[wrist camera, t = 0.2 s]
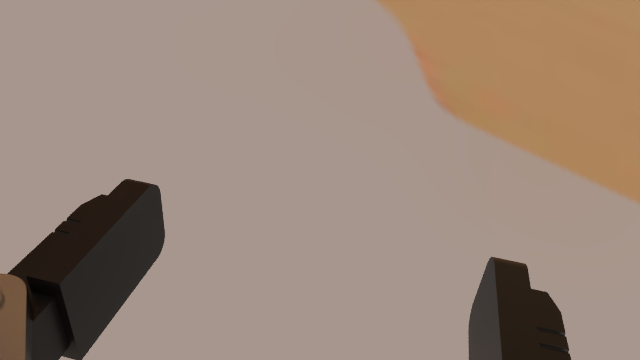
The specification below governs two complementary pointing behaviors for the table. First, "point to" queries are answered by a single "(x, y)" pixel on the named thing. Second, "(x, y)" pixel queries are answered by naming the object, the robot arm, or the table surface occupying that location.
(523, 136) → the table surface
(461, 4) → the table surface
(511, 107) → the table surface
